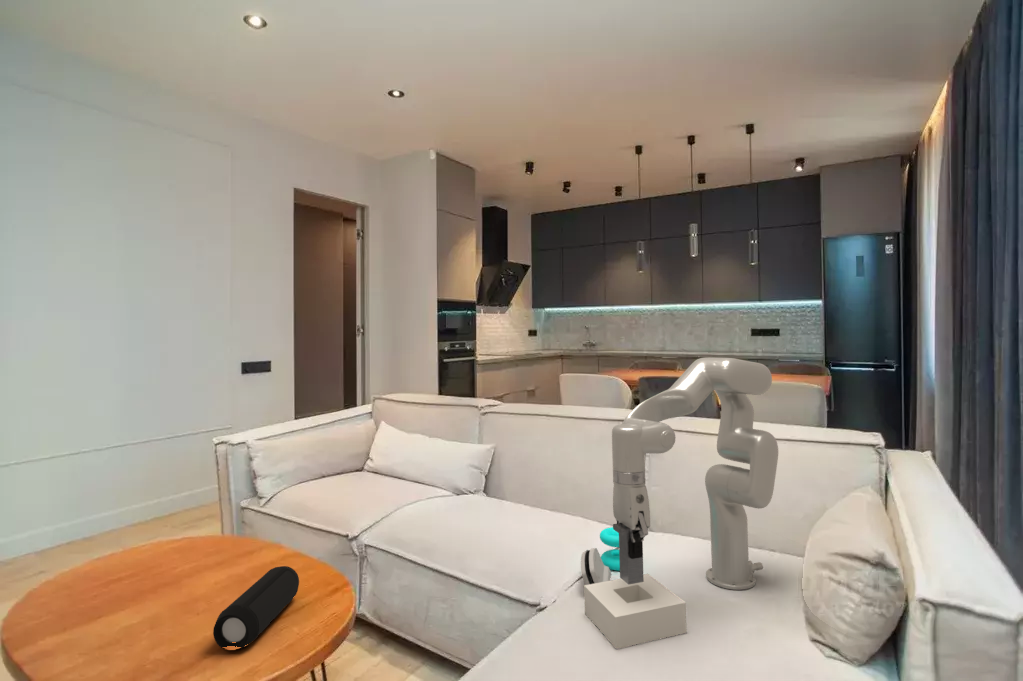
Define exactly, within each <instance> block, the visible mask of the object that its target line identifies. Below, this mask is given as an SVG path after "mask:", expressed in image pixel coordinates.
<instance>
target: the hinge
mask: <svg viewBox="0 0 1023 681" xmlns="http://www.w3.org/2000/svg"><path fill="white" fill-rule="evenodd" d="M580 573H581V576H582V580H583V582H584V584H585V585H589V584H595V583H600V582H605V581H610V578H611V579H612V572H611V569H609V567H607V566H605V565H604V564H603V562H602V559H601V555H600V553H599V550H598V548H597V547H594V548H593V547H592V548H591V549H586V550H584V552H582V553H581V556H580Z"/></svg>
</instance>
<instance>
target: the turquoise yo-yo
mask: <svg viewBox="0 0 1023 681" xmlns="http://www.w3.org/2000/svg"><path fill="white" fill-rule="evenodd" d="M599 539H600V541H601V542H602V543H603V544H604V545H606V546H608V547H612V549H608V550H605V551H604V552H603V553H602V554H601V555H600V557H601V559H602V562H603V564H604V565H605V566H607V567H609V569H610V571H611V570H612V571H619V572H620V557H619V533H618V532H617V531H615V530H614V529H613V526H612V527H611V526H610V527H607V528H604V529H602V530H601V532H599ZM615 548H616V549H615Z"/></svg>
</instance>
